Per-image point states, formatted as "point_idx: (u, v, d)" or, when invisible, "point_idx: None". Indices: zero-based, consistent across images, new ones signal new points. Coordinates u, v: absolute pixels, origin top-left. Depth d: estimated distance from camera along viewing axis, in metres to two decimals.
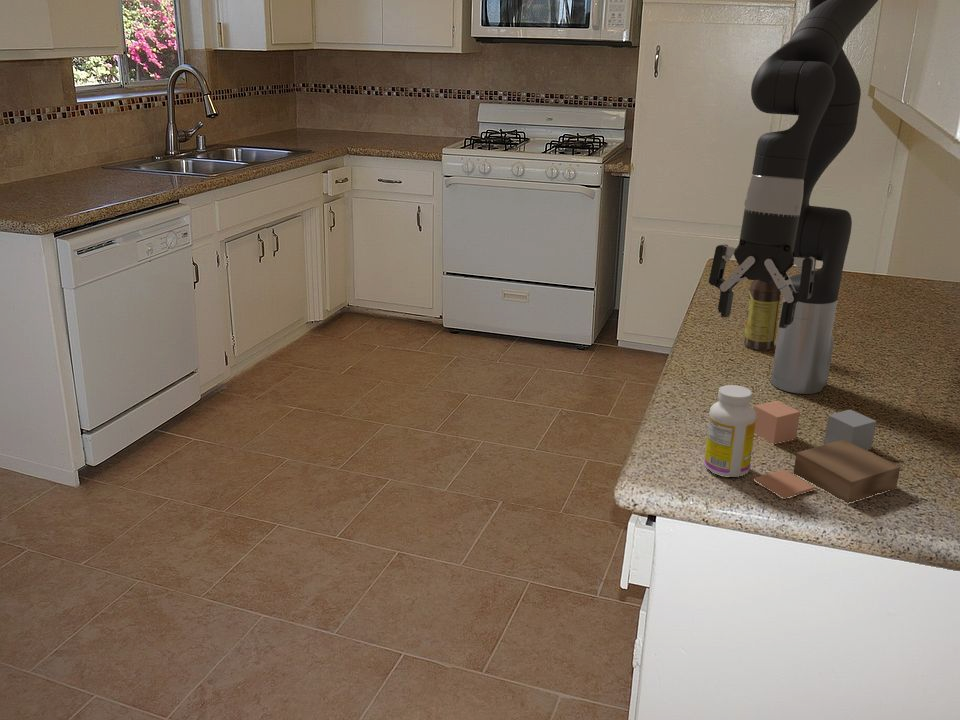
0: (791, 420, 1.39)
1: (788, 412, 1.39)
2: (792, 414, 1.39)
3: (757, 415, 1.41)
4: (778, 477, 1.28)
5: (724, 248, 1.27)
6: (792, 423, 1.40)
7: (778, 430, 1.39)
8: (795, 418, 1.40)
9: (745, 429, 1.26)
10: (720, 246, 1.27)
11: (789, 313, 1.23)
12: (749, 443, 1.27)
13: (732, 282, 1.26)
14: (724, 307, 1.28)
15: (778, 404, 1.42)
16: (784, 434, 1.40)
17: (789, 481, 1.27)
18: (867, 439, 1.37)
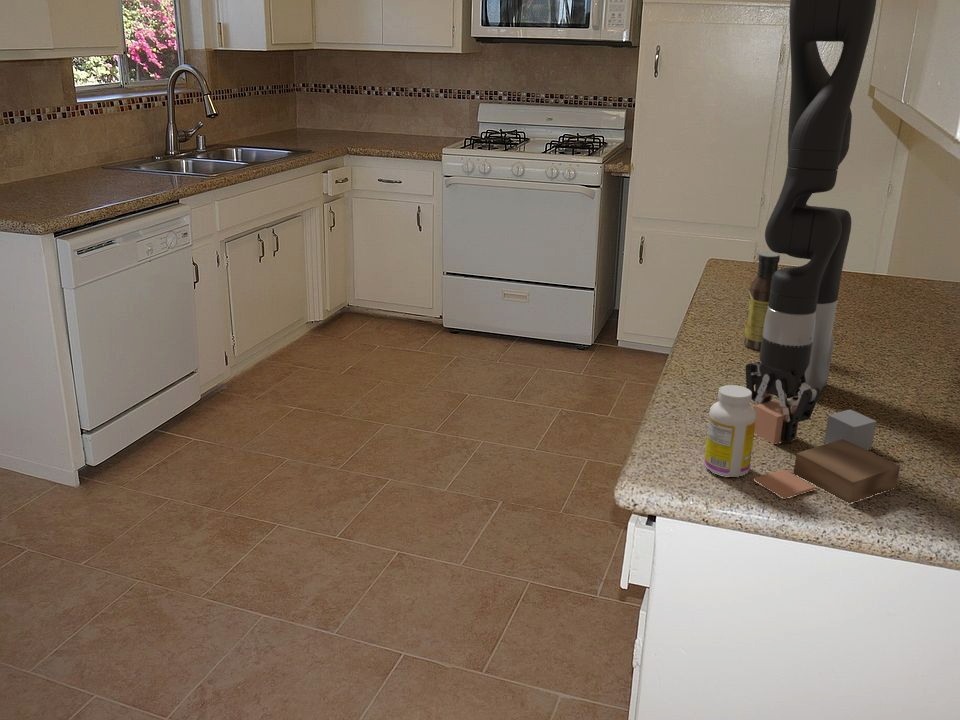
0: None
1: None
2: None
3: (757, 415, 1.41)
4: (778, 477, 1.28)
5: (752, 366, 1.43)
6: None
7: (778, 430, 1.39)
8: None
9: (745, 429, 1.26)
10: (748, 365, 1.43)
11: (788, 430, 1.38)
12: (749, 443, 1.27)
13: (761, 398, 1.42)
14: None
15: (778, 404, 1.42)
16: None
17: (789, 481, 1.27)
18: (867, 439, 1.37)
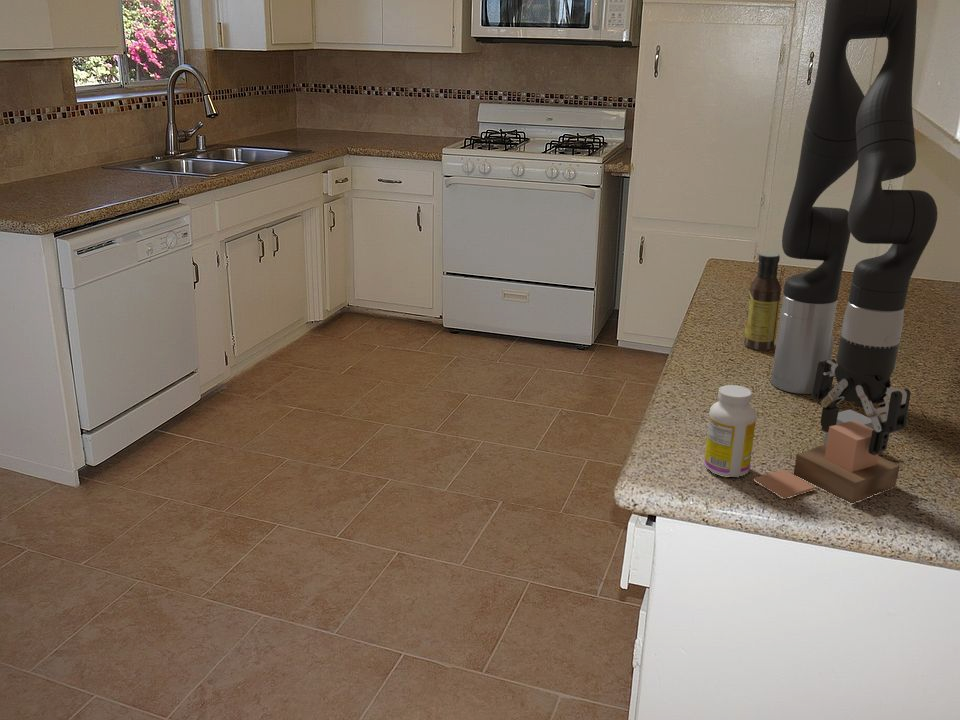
0: None
1: (868, 434, 1.23)
2: None
3: (833, 437, 1.26)
4: (778, 477, 1.28)
5: (826, 365, 1.27)
6: None
7: (858, 455, 1.23)
8: None
9: (745, 429, 1.26)
10: (822, 363, 1.27)
11: (878, 441, 1.21)
12: (749, 443, 1.27)
13: (831, 400, 1.26)
14: (824, 422, 1.28)
15: (856, 425, 1.26)
16: (865, 459, 1.24)
17: (789, 481, 1.27)
18: None
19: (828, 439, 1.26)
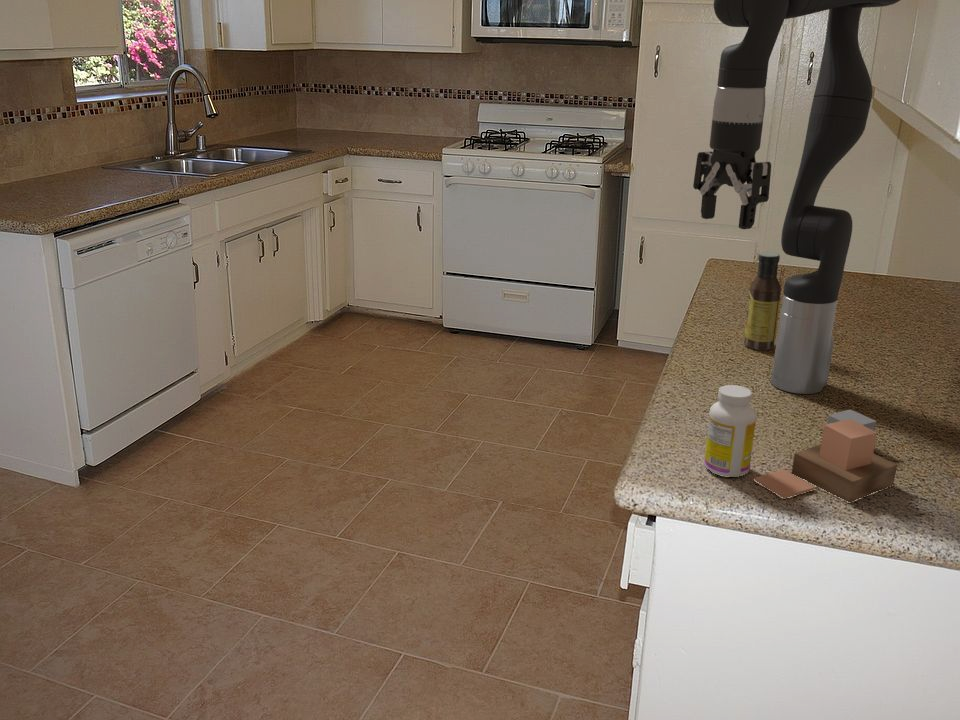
0: (867, 442, 1.24)
1: (863, 433, 1.24)
2: (868, 436, 1.24)
3: (828, 435, 1.26)
4: (778, 477, 1.28)
5: (704, 155, 1.39)
6: (868, 445, 1.24)
7: (852, 453, 1.23)
8: (871, 440, 1.24)
9: (745, 429, 1.26)
10: (700, 153, 1.40)
11: (746, 215, 1.33)
12: (749, 443, 1.27)
13: (708, 186, 1.39)
14: (703, 209, 1.41)
15: (852, 423, 1.27)
16: (859, 457, 1.24)
17: (789, 481, 1.27)
18: None
19: (823, 437, 1.27)
